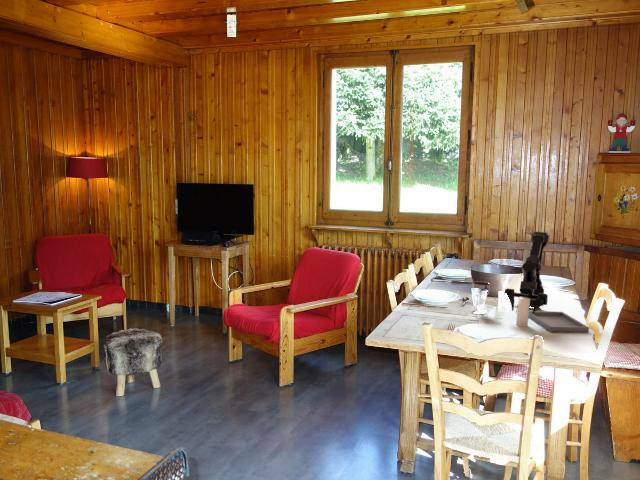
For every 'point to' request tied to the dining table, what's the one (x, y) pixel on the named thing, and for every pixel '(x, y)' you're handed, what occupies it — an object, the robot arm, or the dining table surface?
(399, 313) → the dining table surface
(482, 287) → the wine glass
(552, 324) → the tray
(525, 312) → the canister
